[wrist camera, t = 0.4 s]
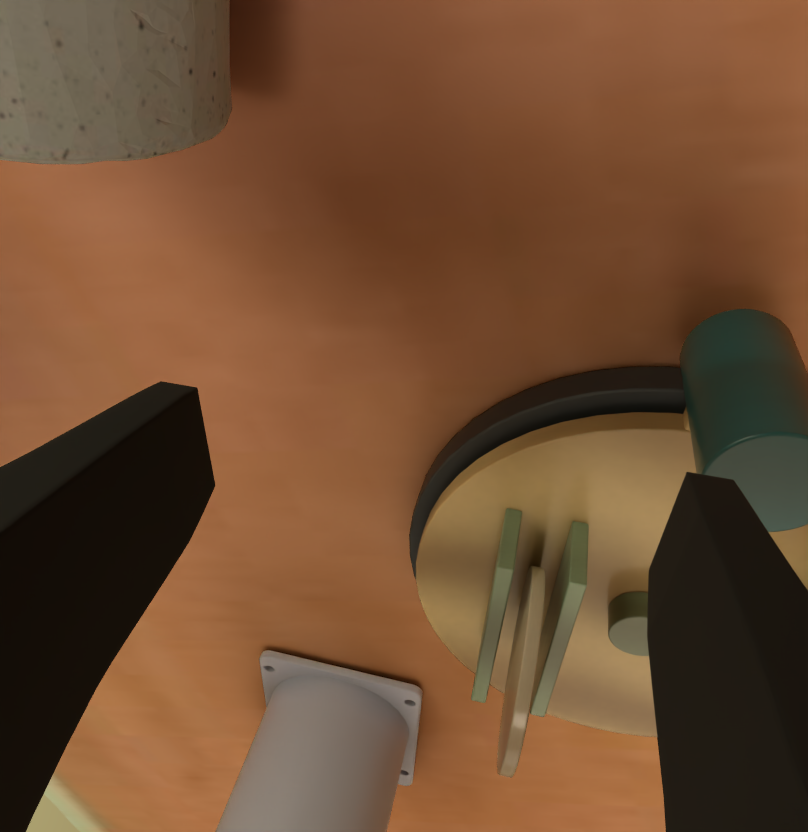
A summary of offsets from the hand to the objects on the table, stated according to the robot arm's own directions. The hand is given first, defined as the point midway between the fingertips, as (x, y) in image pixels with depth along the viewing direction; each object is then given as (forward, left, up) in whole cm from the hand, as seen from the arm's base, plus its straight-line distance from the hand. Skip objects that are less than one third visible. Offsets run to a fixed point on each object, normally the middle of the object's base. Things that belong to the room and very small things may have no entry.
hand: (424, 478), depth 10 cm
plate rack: (-10, -6, -9) cm, 15 cm away
